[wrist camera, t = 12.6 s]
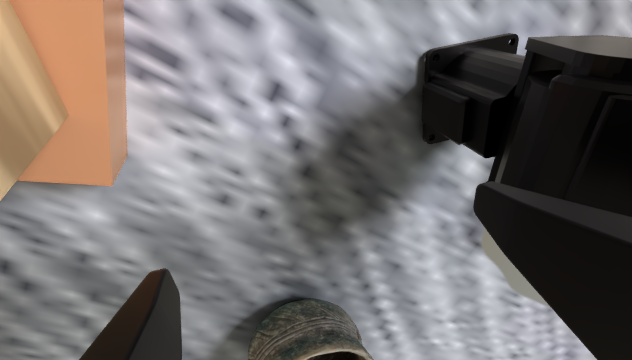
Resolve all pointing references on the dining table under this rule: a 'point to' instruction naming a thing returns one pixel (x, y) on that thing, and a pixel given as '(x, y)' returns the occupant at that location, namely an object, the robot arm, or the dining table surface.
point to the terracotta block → (81, 87)
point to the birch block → (23, 100)
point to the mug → (307, 334)
